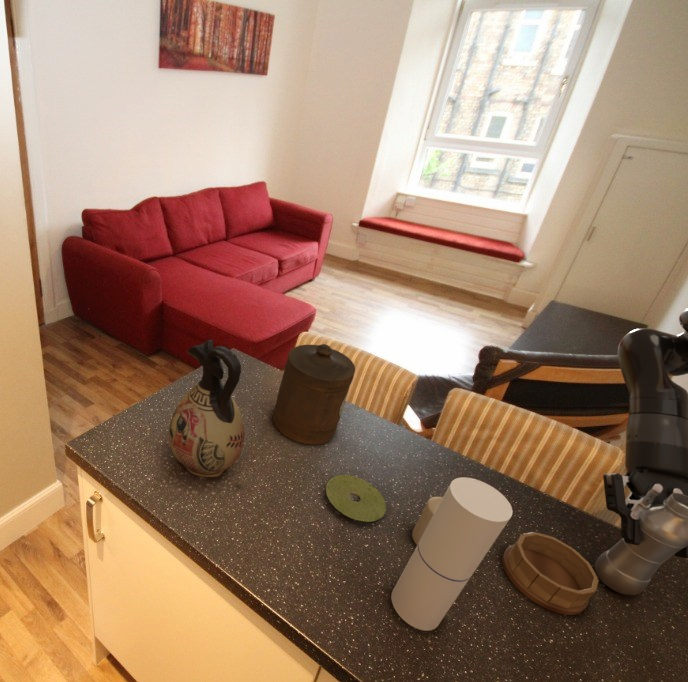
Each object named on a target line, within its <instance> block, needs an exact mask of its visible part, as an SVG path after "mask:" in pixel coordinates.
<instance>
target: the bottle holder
mask: <svg viewBox="0 0 688 682" xmlns="http://www.w3.org/2000/svg"><path fill="white" fill-rule="evenodd" d="M501 565H502V568H503V570H504V573H505V574H506V576H507V578H508V579H509V581H510V582H511V583H512V584H513V585H514V586H515V588H516V589H517V590H518V591H519V592H520V593H522V594H523V595H524V597H527V598H528V599H529V600H530V601H532V602H534V603H535V604H536V605H538V606H540V607H542V608H544V609H546V610H548V611H550V612H553V613H555V614H560V615H566V616H574V615H579V614H581V613H583V612H584V611H585V610H586V608H588V606H589V603H590V598H591V597H592V596H593V595H594V594H595V593H596V591H597V589H598V585H599V581H600V579H599V577H598V576H597V574H596V571H595V569H594V568H593V567H592V564H590V562H589V561H588V560H587V559H585V558H584V557H583V555H581V554H580V553H579V552H578V551H577V549H573V547H572V546H570V545H569V544H566V543H565V542H563V541H561V540H560V539H558V538H557V537H553V536H552V535H549V534H544V533H540V532H536V531H535V532H534V531H532V532H527V533H522V534H520V536H519V537H518V539H517V540H516V541H515V543H514V544H512V545H510V546H508V547H507V548H506V549H505V551H504V552H503V553H502V556H501Z"/></svg>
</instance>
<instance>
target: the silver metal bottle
mask: <svg viewBox="0 0 688 682" xmlns="http://www.w3.org/2000/svg"><path fill="white" fill-rule="evenodd" d="M637 521H639V524H640V544H639V545H632V544H628V543H625V542H624V538H622V537H621V538H620V540H619V541H617V542H616V543H615V544H614V545H613V546H612V547H611V548H610V549H607V550H606V551H604V552H602V553H601V554H600V555H599V556H598V557H597V558H596V561H595V563H594V571H595V574H596V576H597V577H598V579H599V581H601V583H603V584H604V585H605V586H606V587H608V588H609V589H610V590H612V591H614V592H616V593H618V594H621V595H625V596H637V595H638V594H640V593H642V592H644V591H646V589H647V588H648V586H649V584H650V583H651V581H652V578H653V577H654V575H655V573H656V572H657V571H658V570H659V568H660V567H661V566H662V565H663V564H665V562H666V561H668V560H669V559H670V558H671V557H673V556H675V555H674V554H675V553H677V552H678V551H680V550H681V549H683V548H684V547H686V546H688V496H686V495H684V494H680V493H672V494H671V495H670V496H669V497H668V498H667V499H665V500H664V501H663V504H659V505H651V506H650V507H649V508H648V509H645V510H644V511H643V512H642V514H641V516H640V518H639V519H637Z"/></svg>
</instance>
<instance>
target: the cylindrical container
mask: <svg viewBox="0 0 688 682" xmlns="http://www.w3.org/2000/svg"><path fill="white" fill-rule="evenodd" d="M442 497H443V499H442V500H441V502H440V504H439V506H438V508H437V510H436V512H435V513H434V515H433V517H432V519H431V521H430V523H429V524H428V526H427V528H426V530H425V532H424V534H423V536H422V537H421V539H420V541H419V543H418V545H417V544H416V546H415V549H414V551H413V553H412V554H411V556H410V558H409V560H408V562H407V563H406V566H405V567H404V569H403V571H402V572H401V575H400V576H399V579H398V580H397V582H396V584H395V586H394V587H393V589H392V592H391V595H390V597H391V598H390V599H391V603H392V607H393V608H394V610H395V612H396V613H397V615H398V616H399V617H400V618H401V619H402V620H403V621H404V622H405V623H406V624H408V625H409V626H411V627H412V628H415V629H417V630H419V631H426V632H427V631H428V632H429V631H433V630H435V629H437V628H438V627H439V625H440V624H441V623H442V621H443V619H444V618H445V616H446V614H447V613H448V612H449V610H450V609H451V608H452V606H453V604H454V603H455V601H456V600H457V598H458V597H459V596H460V594H461V592H462V591H463V589H464V588H465V587H466V585H467V583H468V582H469V580H470V579H471V578H472V577H473V574H474V573H475V571H476V570H477V569H478V567H479V566H480V564H481V563H482V561H483V560H484V558H485V557H486V555H487V553H488V552H489V551H490V549H491V547H492V546H493V545H494V543H495V542H496V540H497V539H498V537H499V535H500V534H501V533H502V531H503V530H504V528H505V527H506V525H507V524H508V523H509V521H510V520H511V518H512V516H513V507H512V505H511V503H510V502H509V500H508V499H507V497H505V495H504V494H503V493H502V492H500V491H499V490H497V488H495V487H493V486H492V485H490V484H488V483H486V482H484V481H482V480H479V479H476V478H472V477H465V476H463V477H462V476H461V477H457V478H454V479H452V481H451V482H450V484H449V486H448V488H447V490H446V491H445V492H444V495H443V496H442Z"/></svg>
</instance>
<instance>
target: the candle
mask: <svg viewBox="0 0 688 682" xmlns="http://www.w3.org/2000/svg"><path fill="white" fill-rule="evenodd" d="M443 497H444V496H433V497H430V498H429V499H428V501H427V502H426V504H425V506H424V508H423V510H422V512H421V514H420V515H419V518H418V520H417V521H416V523H415V525H414V527H413V530H412V531H411V537H412V540H413V542H414V544H415V545H416V546H417V545H418V543H419V541H420V539H421V537H422V536H423V534H424V532H425V530H426V528H427V526H428V524H429V523H430V521H431V519H432V517H433V515H434V513H435V512H436V510H437V508H438V506H439V504H440V502H441V500H442V499H443Z"/></svg>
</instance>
